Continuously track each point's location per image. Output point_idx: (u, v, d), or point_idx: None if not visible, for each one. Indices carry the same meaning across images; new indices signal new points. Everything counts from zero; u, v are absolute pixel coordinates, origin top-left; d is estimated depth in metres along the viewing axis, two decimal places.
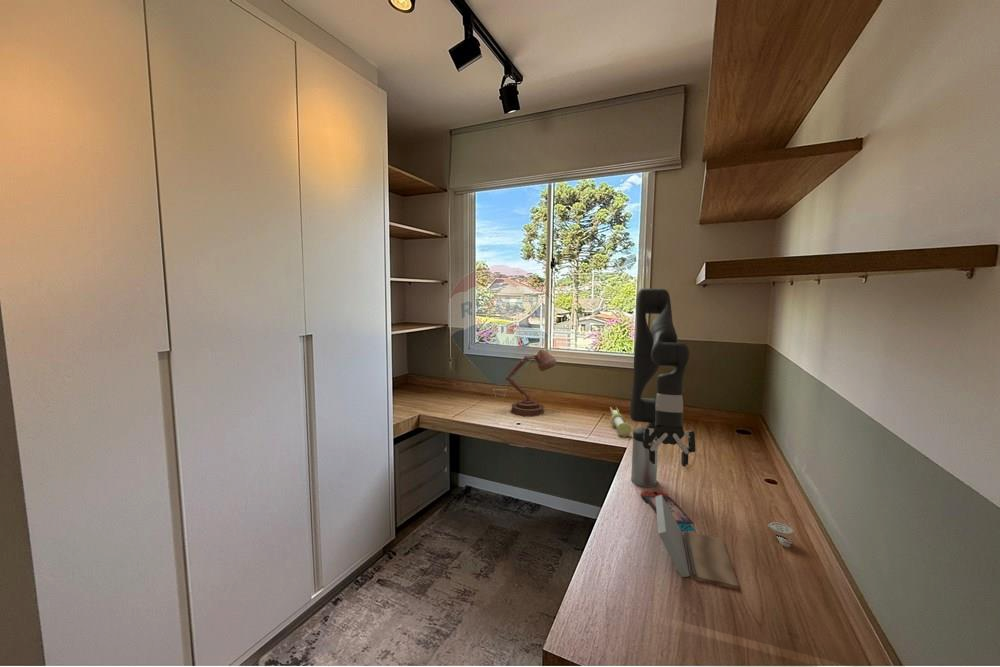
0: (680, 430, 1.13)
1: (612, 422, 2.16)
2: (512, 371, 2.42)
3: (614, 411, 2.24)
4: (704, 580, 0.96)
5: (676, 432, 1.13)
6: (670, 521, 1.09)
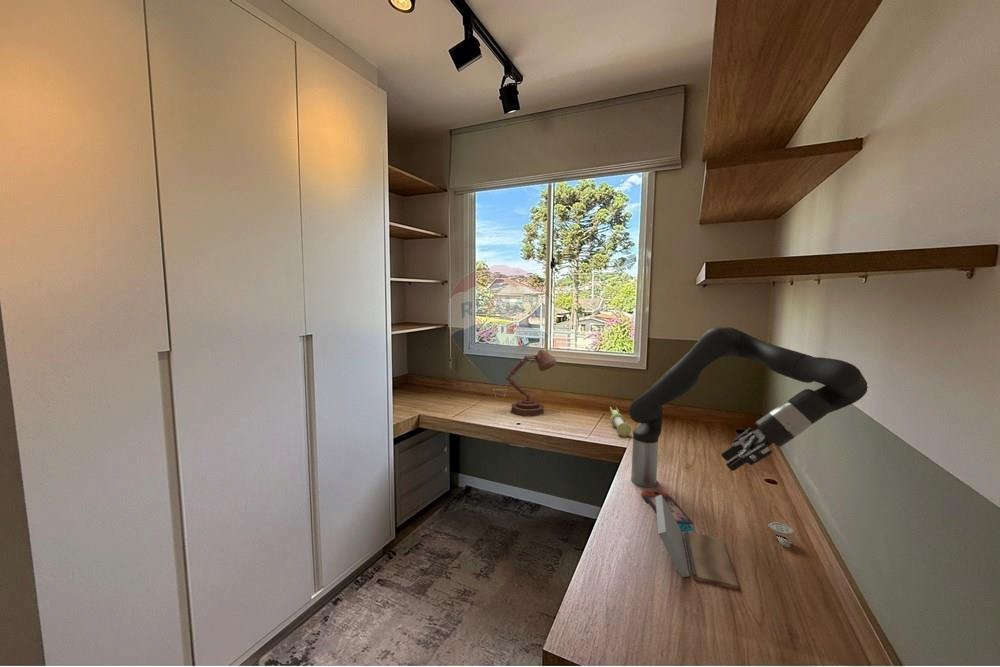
0: None
1: (612, 422, 2.16)
2: (512, 371, 2.42)
3: (614, 411, 2.24)
4: (704, 580, 0.96)
5: None
6: (670, 521, 1.09)
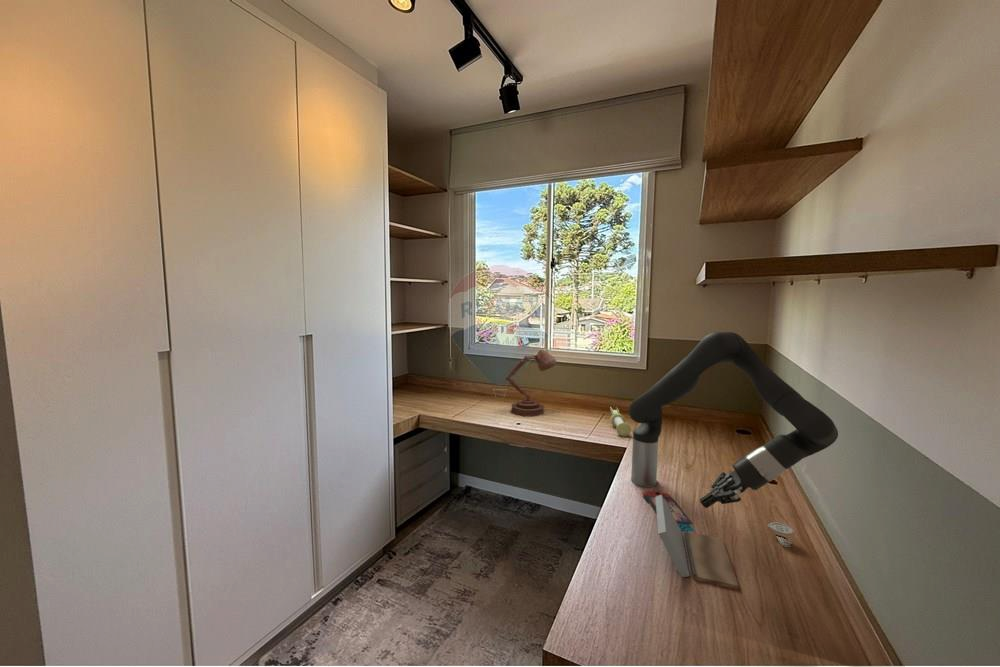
0: None
1: (612, 422, 2.16)
2: (512, 371, 2.42)
3: (614, 411, 2.24)
4: (704, 580, 0.96)
5: None
6: (670, 521, 1.09)
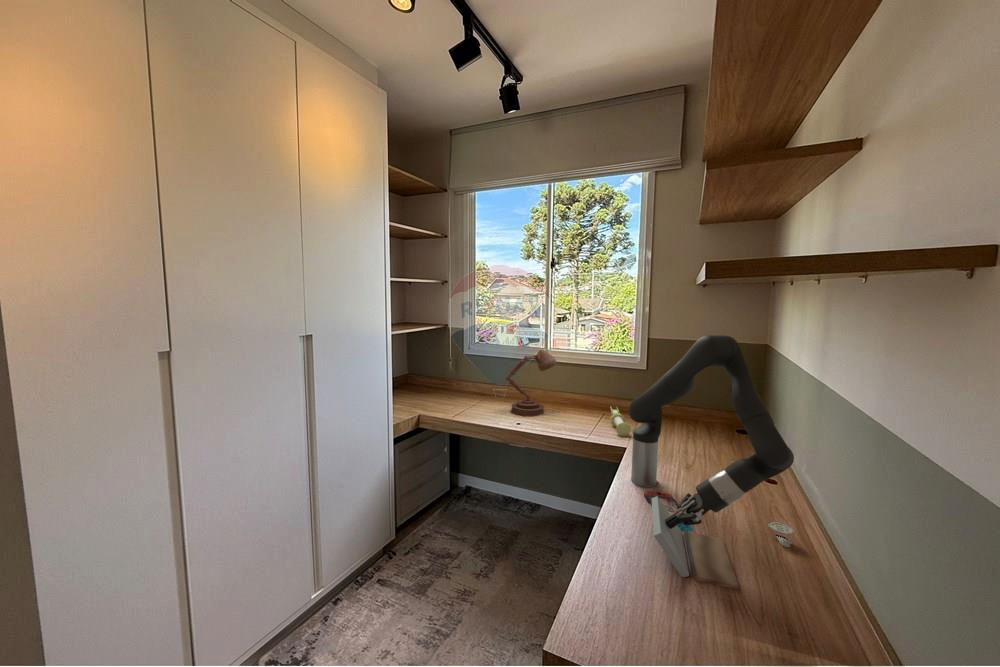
0: None
1: (612, 422, 2.16)
2: (512, 371, 2.42)
3: (614, 411, 2.25)
4: (704, 580, 0.96)
5: None
6: None
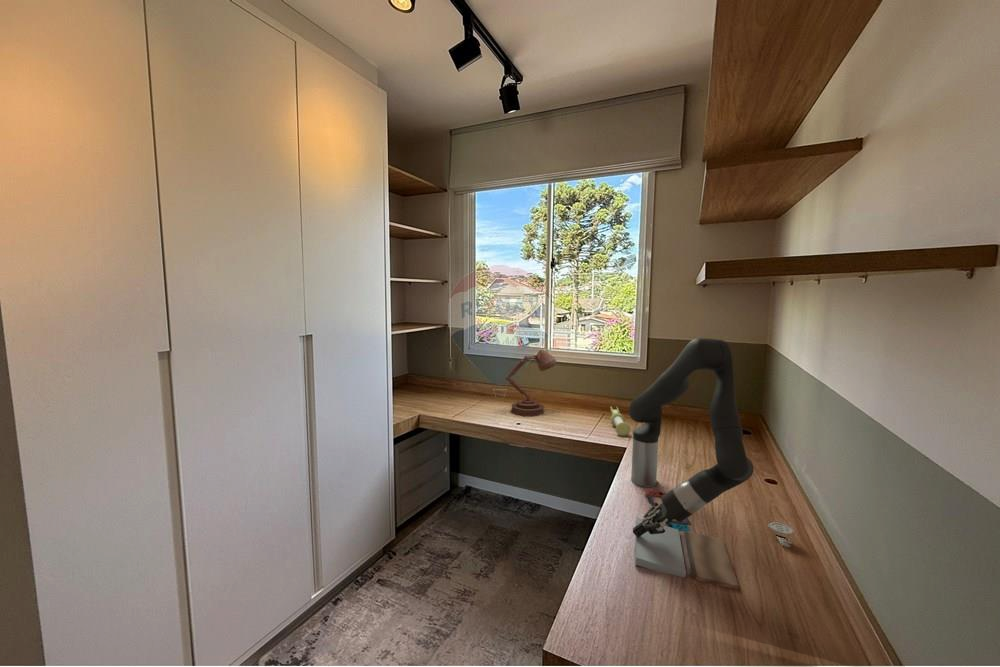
0: None
1: (612, 421, 2.17)
2: (512, 371, 2.42)
3: (614, 411, 2.25)
4: (704, 580, 0.96)
5: None
6: (651, 536, 1.11)
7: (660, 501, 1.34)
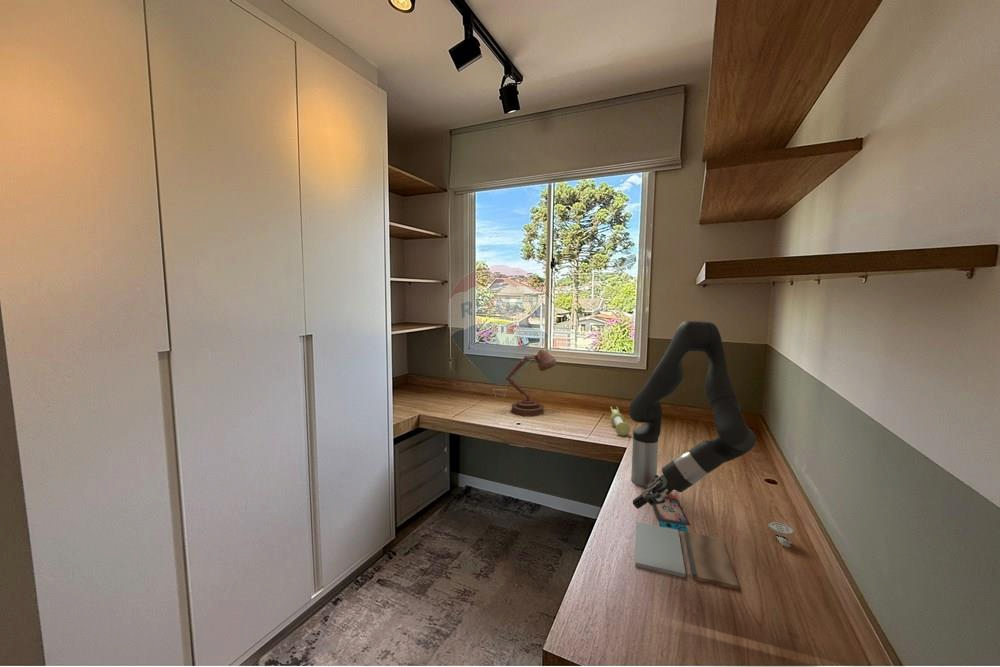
0: None
1: (612, 421, 2.17)
2: (512, 371, 2.42)
3: (614, 410, 2.25)
4: (704, 580, 0.96)
5: None
6: (650, 539, 1.11)
7: None
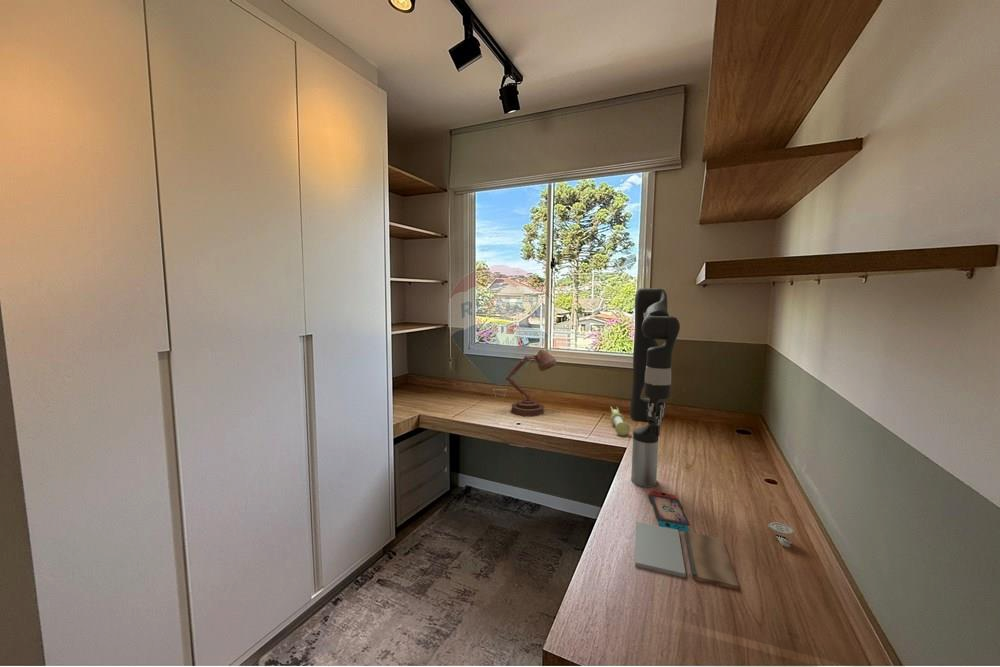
0: (663, 398, 1.21)
1: (612, 421, 2.17)
2: (512, 371, 2.42)
3: (614, 410, 2.25)
4: (704, 580, 0.96)
5: (662, 403, 1.20)
6: (650, 539, 1.11)
7: (661, 501, 1.34)
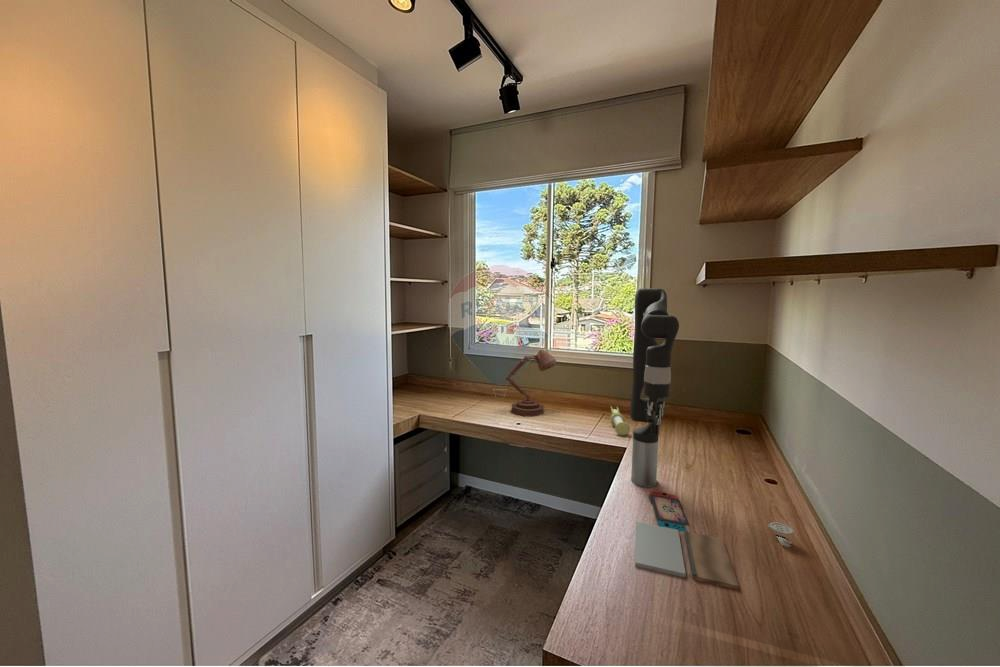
0: (663, 398, 1.21)
1: (612, 421, 2.17)
2: (512, 371, 2.42)
3: (614, 410, 2.26)
4: (704, 580, 0.96)
5: None
6: (650, 539, 1.11)
7: (662, 501, 1.34)
